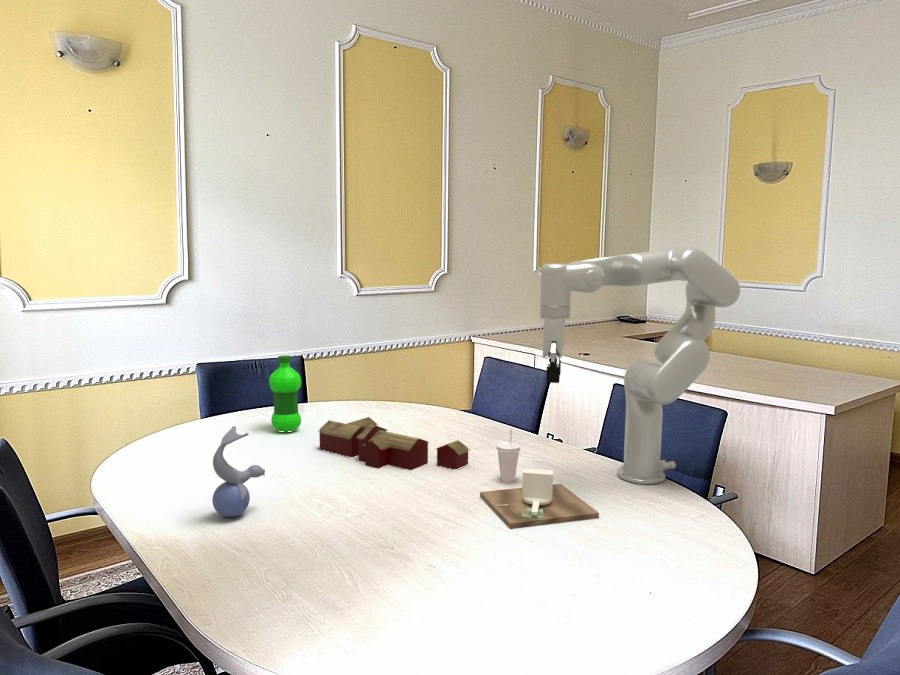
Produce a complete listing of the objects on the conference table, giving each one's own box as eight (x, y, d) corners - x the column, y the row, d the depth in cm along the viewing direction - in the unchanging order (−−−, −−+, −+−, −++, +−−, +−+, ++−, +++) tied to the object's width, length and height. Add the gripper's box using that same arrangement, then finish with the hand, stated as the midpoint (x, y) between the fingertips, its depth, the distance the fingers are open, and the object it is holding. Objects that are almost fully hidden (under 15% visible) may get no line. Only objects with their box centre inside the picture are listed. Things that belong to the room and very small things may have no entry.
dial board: (560, 488, 179) (560, 482, 179) (598, 517, 160) (599, 512, 160) (479, 496, 173) (480, 491, 172) (510, 528, 154) (510, 522, 154)
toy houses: (313, 452, 208) (312, 420, 206) (359, 437, 224) (359, 406, 223) (435, 483, 182) (435, 446, 181) (477, 463, 199) (477, 429, 198)
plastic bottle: (298, 435, 224) (297, 359, 221) (266, 435, 225) (264, 358, 221) (305, 427, 234) (304, 354, 231) (274, 426, 235) (272, 353, 231)
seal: (273, 512, 161) (271, 429, 159) (221, 526, 154) (217, 438, 151) (258, 501, 168) (255, 421, 165) (207, 514, 160) (203, 430, 157)
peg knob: (524, 493, 170) (524, 465, 169) (552, 495, 169) (553, 467, 168) (518, 514, 157) (519, 484, 156) (549, 517, 156) (550, 487, 155)
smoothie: (518, 485, 181) (519, 433, 179) (494, 483, 182) (495, 431, 180) (521, 477, 187) (522, 426, 185) (497, 475, 188) (498, 425, 186)
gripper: (541, 308, 185) (540, 371, 187) (538, 316, 168) (536, 385, 171) (570, 309, 184) (568, 372, 186) (569, 316, 167) (567, 386, 169)
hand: (553, 378), depth 178 cm, fingers open, 9 cm apart
